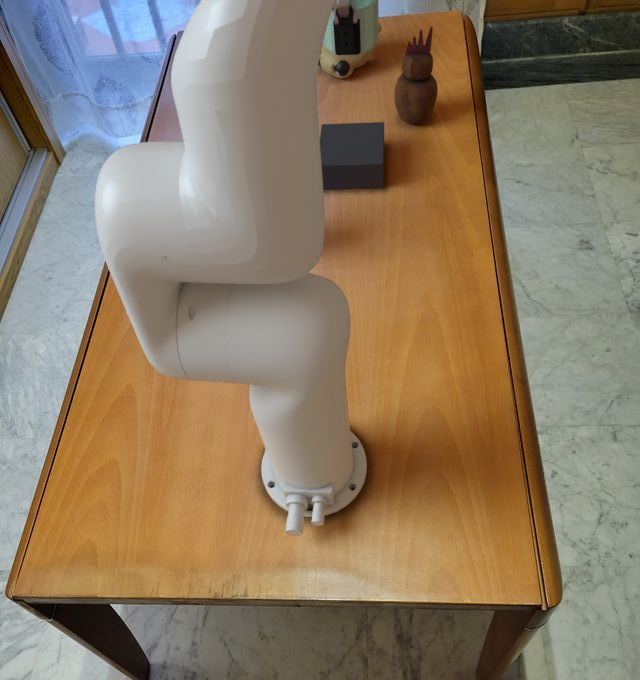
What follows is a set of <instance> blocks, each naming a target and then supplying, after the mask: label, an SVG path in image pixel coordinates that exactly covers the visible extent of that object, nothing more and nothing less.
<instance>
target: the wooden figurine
mask: <svg viewBox="0 0 640 680" xmlns="http://www.w3.org/2000/svg"><path fill="white" fill-rule="evenodd" d="M433 28H434V26H433V25H432V26H430V27H429V31H428V33H427V37H426V39H425V43H424V33H423V29H422V28H421V29H419V35H418V39H416V36H413V37H412V44H411V42H410V41H409V40H408V41H407V45H406V49H405V52H404V54H403V55H402V59H401V74H400V75H399V76H398V77H397V80H396V83H395V87H394V104H395V105H394V106H395V109H396V112H397V114H398V116H399V118H400V119H401V121H403V122H405V123H406V124H409V125H413V126H419V125H423V124H424V123H426V122H428V121H429V119H430V118H431V117H432V116H433V113H434V111H435V108H436V107H435V106H436V103H437V99H438V89H439V88H438V87H439V86H438V82H437V79H436V78H435V77H434V75H433V74H432V72H433V69H434V57H433V55H432V53H431V50H432V42H433V41H432V38H433ZM417 40H418V41H417Z"/></svg>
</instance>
